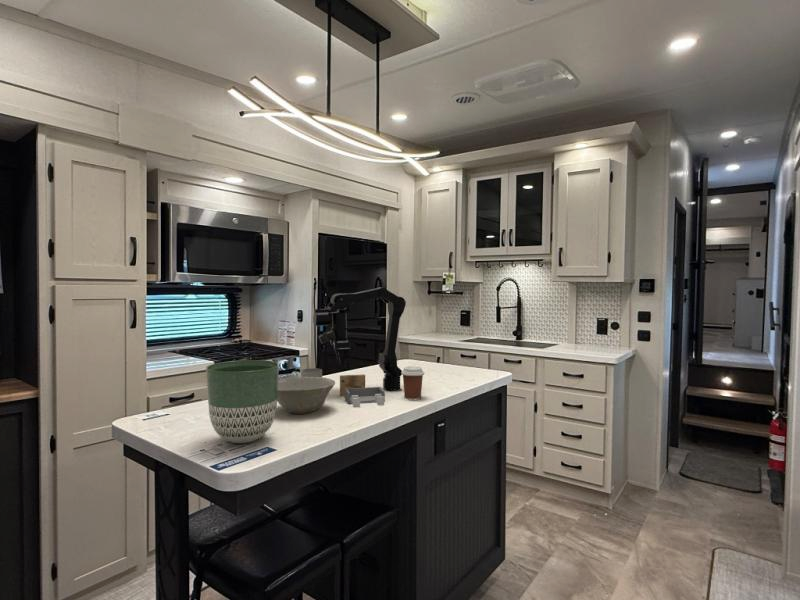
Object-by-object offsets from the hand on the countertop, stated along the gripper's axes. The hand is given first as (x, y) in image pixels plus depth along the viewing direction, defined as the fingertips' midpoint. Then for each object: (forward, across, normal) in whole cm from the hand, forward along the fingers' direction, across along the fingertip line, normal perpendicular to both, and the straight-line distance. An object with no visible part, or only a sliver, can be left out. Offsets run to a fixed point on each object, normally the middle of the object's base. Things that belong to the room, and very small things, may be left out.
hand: (340, 363), depth 190 cm
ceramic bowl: (+12, +22, -16) cm, 30 cm away
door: (+13, +3, +4) cm, 14 cm away
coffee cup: (+14, +14, +26) cm, 32 cm away
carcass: (+13, +15, +7) cm, 21 cm away
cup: (+12, -1, -12) cm, 17 cm away
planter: (+12, +51, -34) cm, 62 cm away
